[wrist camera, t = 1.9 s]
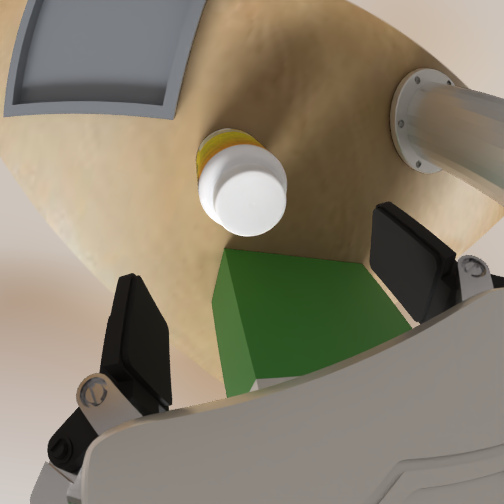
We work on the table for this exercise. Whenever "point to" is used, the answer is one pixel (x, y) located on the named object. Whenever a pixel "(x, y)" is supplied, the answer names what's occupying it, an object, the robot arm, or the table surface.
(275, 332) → the hardback book
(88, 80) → the tray
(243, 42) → the table surface
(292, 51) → the table surface
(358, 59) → the table surface
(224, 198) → the supplement bottle
